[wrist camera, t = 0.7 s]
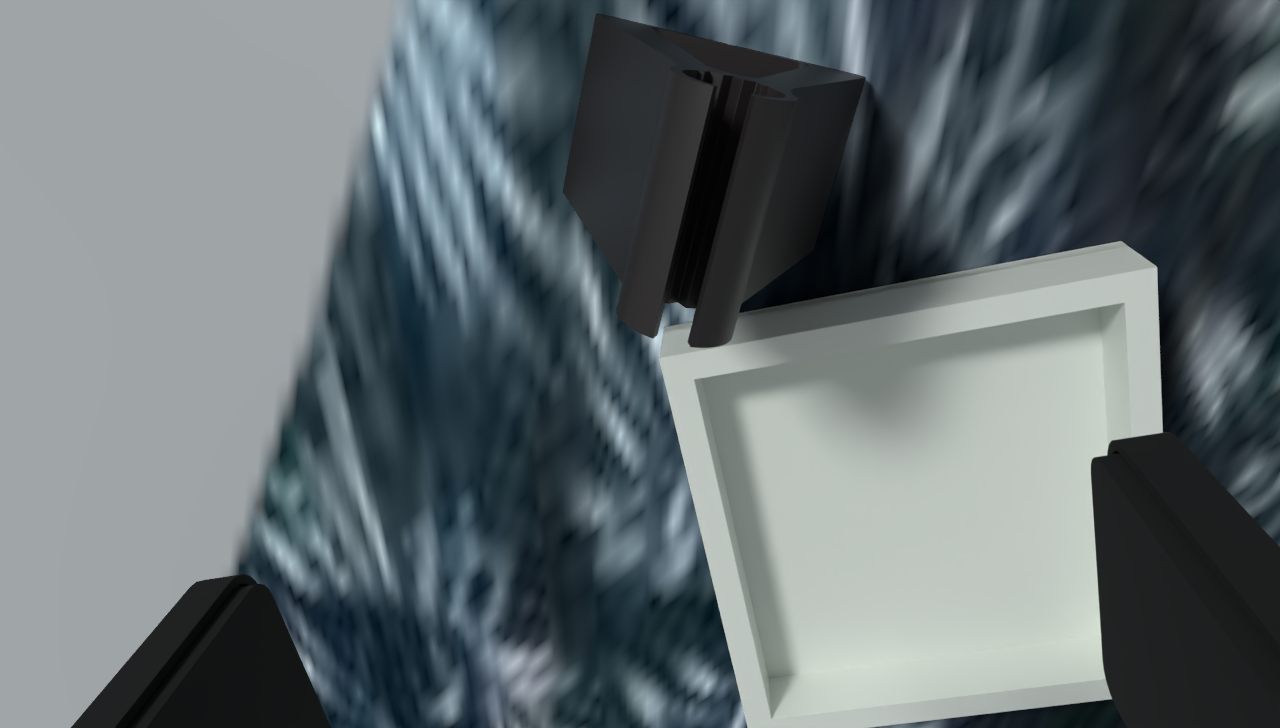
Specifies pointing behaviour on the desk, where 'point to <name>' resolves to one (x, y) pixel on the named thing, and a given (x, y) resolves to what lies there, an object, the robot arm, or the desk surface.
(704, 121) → the phone stand
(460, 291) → the desk surface
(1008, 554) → the tray
